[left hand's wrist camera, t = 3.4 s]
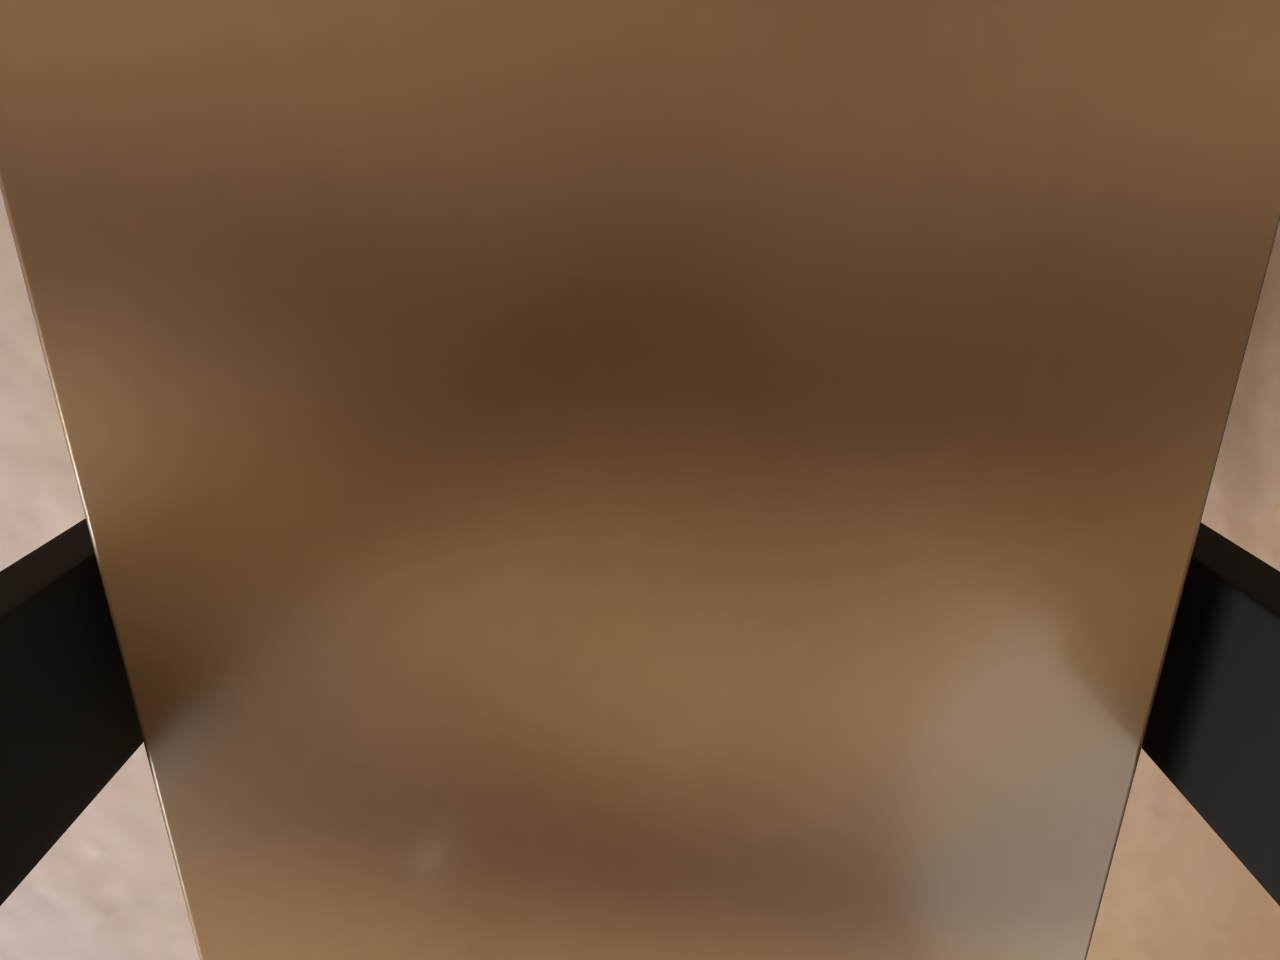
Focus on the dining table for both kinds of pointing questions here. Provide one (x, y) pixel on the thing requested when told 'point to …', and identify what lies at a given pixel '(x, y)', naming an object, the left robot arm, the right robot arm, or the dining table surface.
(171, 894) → the dining table surface
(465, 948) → the cabinet
